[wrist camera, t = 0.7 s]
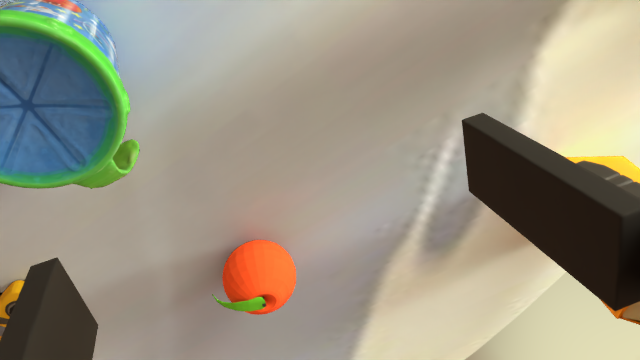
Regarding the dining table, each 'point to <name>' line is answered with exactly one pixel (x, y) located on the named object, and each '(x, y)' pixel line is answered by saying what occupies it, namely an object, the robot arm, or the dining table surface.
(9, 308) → the yellow walkie talkie
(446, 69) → the dining table surface
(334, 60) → the dining table surface
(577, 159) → the orange juice
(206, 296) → the dining table surface
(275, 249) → the clementine
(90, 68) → the snack cup
